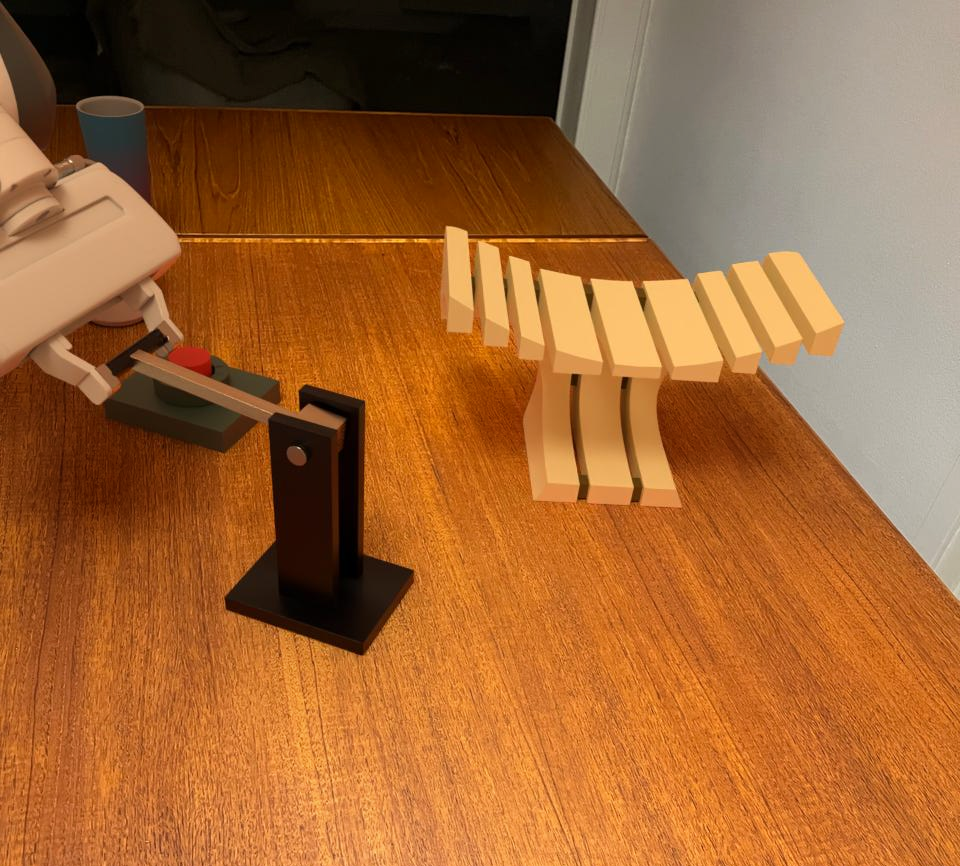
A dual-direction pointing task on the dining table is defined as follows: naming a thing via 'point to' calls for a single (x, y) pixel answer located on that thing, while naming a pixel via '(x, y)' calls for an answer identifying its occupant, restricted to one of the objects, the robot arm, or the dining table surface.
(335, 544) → the bracket
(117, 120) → the cup
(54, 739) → the dining table surface
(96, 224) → the robot arm
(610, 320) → the slatted curved stool
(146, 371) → the lever
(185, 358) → the button
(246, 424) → the box
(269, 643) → the dining table surface
